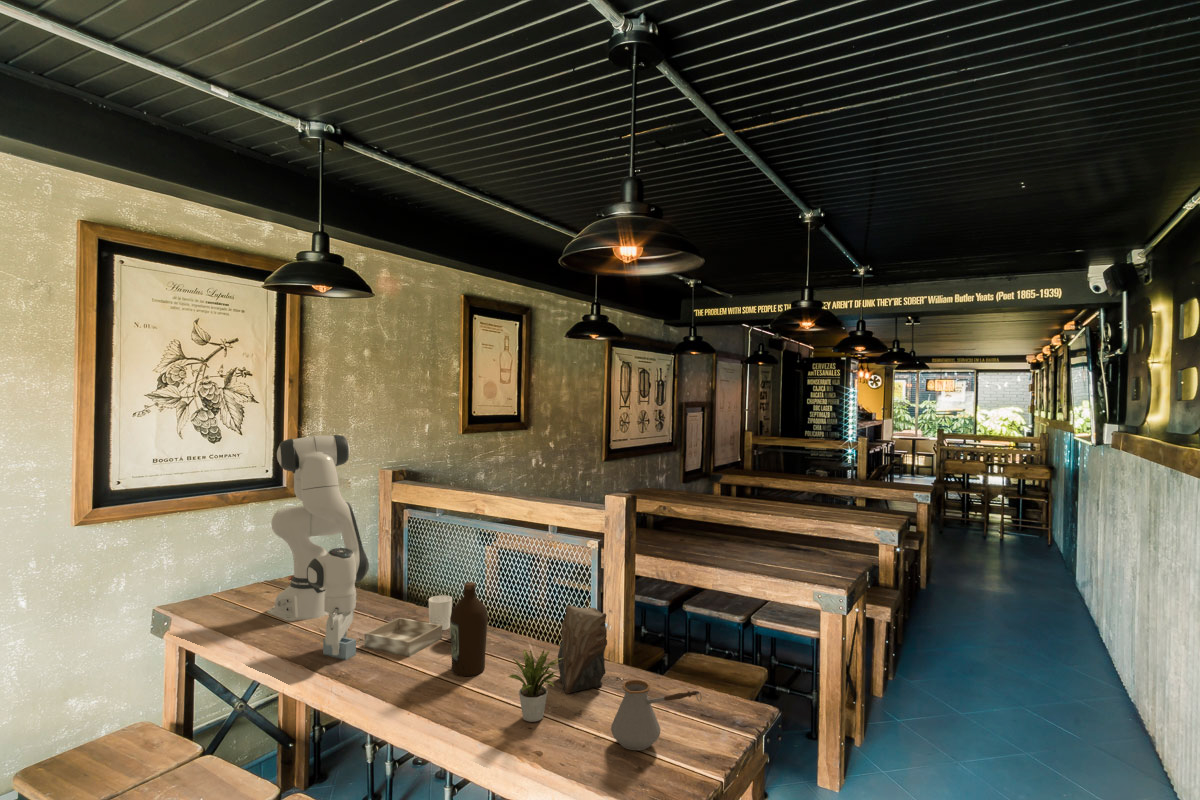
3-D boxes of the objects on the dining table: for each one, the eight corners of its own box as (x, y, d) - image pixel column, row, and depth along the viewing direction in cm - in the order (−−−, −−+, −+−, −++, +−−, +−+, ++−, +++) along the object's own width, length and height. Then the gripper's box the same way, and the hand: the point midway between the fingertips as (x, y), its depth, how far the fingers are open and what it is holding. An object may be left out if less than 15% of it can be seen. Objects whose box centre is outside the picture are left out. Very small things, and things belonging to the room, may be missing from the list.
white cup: (437, 633, 208) (438, 604, 208) (423, 628, 213) (423, 599, 213) (456, 627, 214) (456, 598, 214) (441, 622, 219) (442, 593, 219)
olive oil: (481, 659, 188) (483, 576, 188) (491, 673, 178) (492, 586, 178) (446, 665, 183) (447, 580, 183) (453, 680, 174) (455, 590, 174)
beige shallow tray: (364, 647, 195) (364, 633, 195) (398, 630, 210) (399, 617, 210) (409, 657, 189) (409, 642, 189) (442, 639, 203) (442, 625, 204)
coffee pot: (601, 746, 141) (602, 680, 141) (624, 723, 151) (625, 662, 151) (690, 774, 131) (691, 703, 131) (708, 748, 141) (709, 681, 141)
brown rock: (556, 673, 179) (557, 604, 179) (598, 669, 182) (599, 601, 182) (564, 693, 166) (565, 619, 167) (610, 689, 170) (611, 615, 170)
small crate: (323, 655, 189) (323, 639, 189) (333, 651, 192) (333, 634, 192) (345, 660, 185) (346, 644, 185) (355, 656, 189) (356, 639, 189)
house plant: (553, 737, 145) (554, 667, 145) (497, 731, 147) (498, 661, 147) (567, 707, 159) (568, 643, 159) (515, 702, 161) (516, 639, 161)
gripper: (343, 614, 179) (342, 662, 179) (358, 592, 199) (357, 636, 199) (319, 615, 178) (319, 663, 178) (337, 593, 198) (336, 636, 198)
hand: (339, 648), depth 189 cm, fingers open, 7 cm apart
